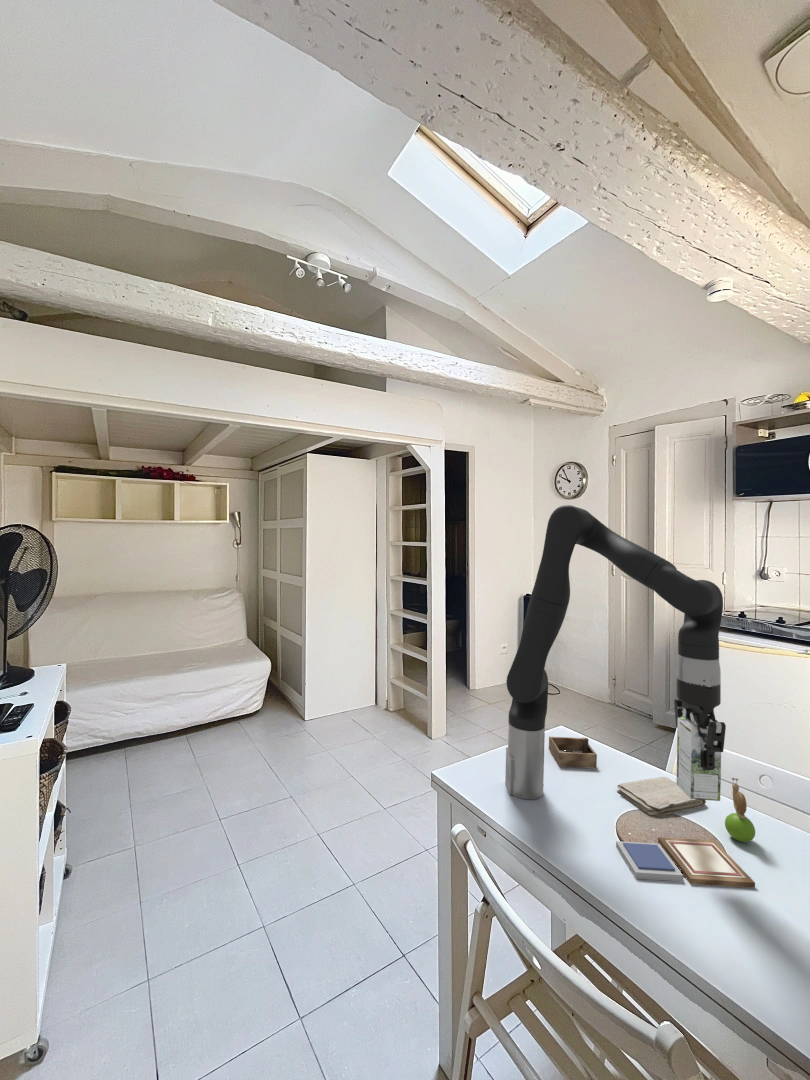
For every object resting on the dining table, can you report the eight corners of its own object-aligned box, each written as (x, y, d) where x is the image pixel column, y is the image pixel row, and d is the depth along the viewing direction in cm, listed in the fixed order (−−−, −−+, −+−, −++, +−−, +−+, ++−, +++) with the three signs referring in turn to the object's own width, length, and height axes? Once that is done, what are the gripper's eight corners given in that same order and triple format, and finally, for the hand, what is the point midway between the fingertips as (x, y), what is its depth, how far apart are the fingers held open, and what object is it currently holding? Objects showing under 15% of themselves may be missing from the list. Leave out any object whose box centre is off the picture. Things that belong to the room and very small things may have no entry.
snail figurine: (747, 832, 102) (748, 779, 102) (759, 850, 96) (760, 794, 96) (719, 826, 104) (720, 775, 104) (729, 844, 98) (730, 789, 98)
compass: (561, 752, 139) (562, 728, 139) (589, 759, 135) (589, 735, 135) (555, 762, 132) (556, 738, 132) (584, 770, 128) (584, 745, 128)
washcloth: (613, 793, 117) (614, 781, 117) (665, 783, 123) (665, 771, 123) (652, 820, 106) (652, 807, 106) (706, 807, 112) (707, 795, 112)
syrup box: (705, 786, 93) (705, 716, 94) (721, 802, 88) (722, 728, 88) (676, 784, 94) (676, 715, 94) (690, 800, 88) (691, 726, 88)
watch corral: (558, 766, 130) (558, 752, 130) (548, 749, 141) (549, 736, 141) (596, 768, 129) (596, 754, 129) (583, 750, 140) (583, 738, 140)
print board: (690, 883, 86) (690, 877, 86) (658, 841, 98) (658, 836, 98) (755, 887, 85) (755, 881, 85) (714, 845, 97) (714, 839, 97)
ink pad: (635, 878, 87) (635, 870, 87) (616, 846, 96) (616, 839, 96) (683, 881, 86) (683, 873, 86) (659, 849, 95) (659, 841, 95)
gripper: (661, 668, 99) (661, 744, 98) (699, 688, 84) (699, 778, 84) (696, 669, 98) (696, 746, 98) (741, 690, 84) (741, 780, 83)
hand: (698, 760), depth 91 cm, fingers closed on syrup box, 6 cm apart
